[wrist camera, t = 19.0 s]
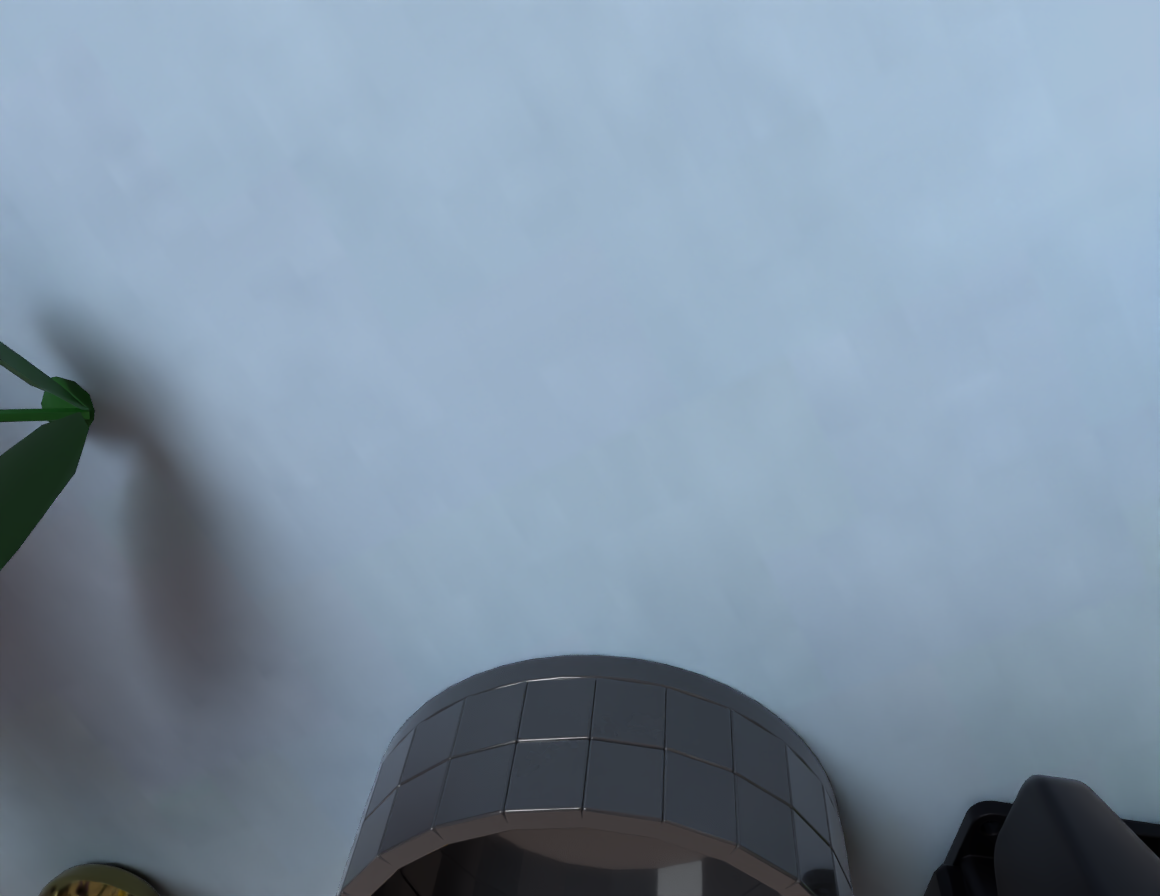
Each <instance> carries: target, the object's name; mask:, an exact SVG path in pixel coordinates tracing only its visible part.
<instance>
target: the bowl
mask: <svg viewBox="0 0 1160 896" xmlns="http://www.w3.org/2000/svg"><path fill="white" fill-rule="evenodd" d="M336 896H853V891H852V884H851V878H850V871H849V865H848V858H847V852H846V846H845V839H844V833H843V828H842V824H841V822H840V820H839V813H838V807H837V801H836V798H835V795H834V792H833V789H832V787H831V784H830V781H829V779H828V777H827V775H826V773H825V772H824V770H823V768H822V766H821V765H820V763H819V761H818V759H817V758H816V757H815V755H814V754H813V753H812V752H811V750H810V749H809V748H808V747H807V745H806V744H805V743H804V742H803V740H802V739H801V738H800V737H799V736H798V735H797V734H796V733H795V732H794V731H793V730H792V729H791V728H789V727H788V726H787V725H786V724H785V723H784V722H783V721H782V720H781V719H780V718H778V717H777V716H776V715H774V714H773V713H771V712H770V711H769V710H767V709H766V708H764V707H763V706H762V705H760V704H759V703H757V702H756V701H754V700H752V699H751V698H749V697H747V696H745V695H743V694H741V693H740V692H738V691H736V690H734V689H732V688H731V687H729V686H726V685H724V684H721V683H719V682H717V681H714V680H712V679H709V678H707V677H705V676H702V675H700V674H697V673H693V672H690V671H687V670H683V669H680V668H676V667H673V666H670V665H666V664H661V663H656V662H651V661H645V660H640V659H635V658H626V657H615V656H604V655H564V656H555V657H546V658H537V659H530V660H526V661H521V662H517V663H512V664H508V665H503V666H500V667H497V668H494V669H491V670H488V671H485V672H482V673H479V674H476V675H473V676H471V677H469V678H467V679H465V680H463V681H461V682H459V683H457V684H455V685H453V686H451V687H449V688H447V689H446V690H444V691H443V692H441V693H440V694H438V695H437V696H435V697H434V698H432V699H431V700H429V701H428V702H426V703H425V704H424V705H423V706H422V707H421V708H420V709H419V710H417V711H416V712H415V713H414V714H413V715H412V716H411V717H410V718H409V719H408V720H407V721H406V722H405V723H404V724H403V726H402V727H401V728H400V730H399V731H398V732H397V733H396V735H395V736H394V737H393V739H392V740H391V742H390V744H389V746H388V748H387V750H386V752H385V754H384V756H383V758H382V761H381V764H380V767H379V770H378V773H377V776H376V779H375V782H374V784H373V787H372V789H371V792H370V794H369V797H368V799H367V802H366V805H365V808H364V811H363V814H362V817H361V820H360V823H359V826H358V829H357V832H356V835H355V838H354V842H353V845H352V848H351V851H350V854H349V857H348V860H347V863H346V866H345V869H344V872H343V875H342V878H341V881H340V884H339V887H338V890H337V893H336Z"/></svg>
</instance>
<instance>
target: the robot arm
mask: <svg viewBox="0 0 1160 896" xmlns="http://www.w3.org/2000/svg"><path fill="white" fill-rule="evenodd" d="M924 896H1160V825H1159V824H1152V823H1145V822H1138V821H1131V820H1124V819H1120V818H1119V817H1118V816H1117V815H1116V814H1115V813H1114V812H1113V811H1112V809H1111V808H1110V807H1109V806H1108V805H1107V804H1106V803H1105V802H1104V801H1103V800H1102V799H1101V798H1100V797H1099V796H1098V795H1097V794H1096V793H1095V792H1094V791H1093V790H1092V789H1091V788H1090V787H1088V786H1087V785H1086V784H1084V783H1082V782H1080V781H1077V780H1073V779H1066V778H1059V777H1052V776H1044V775H1033V776H1031V777H1029V778H1028V779H1027V780H1026V781H1025V782H1024V784H1023V785H1022V787H1021V789H1020V791H1019V793H1018V795H1017V797H1016V799H1015V801H1014V803H1013V804H1011V803H1004V802H997V801H983V802H979V803H976V804H975V805H973V806H971V807H970V809H969V810H968V811H967V813H966V815H965V817H964V819H963V822H962V824H961V826H960V828H959V831H958V833H957V835H956V837H955V839H954V842H953V844H952V846H951V848H950V850H949V853H948V855H947V857H946V859H945V861H944V864H942V865H941V866H940V867H939V868H938V869H937V870H936V871H935V872H934V873H933V876H932V878H931V880H930V882H929V884H928V887H927V889H926V891H925V893H924Z"/></svg>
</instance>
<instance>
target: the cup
mask: <svg viewBox="0 0 1160 896" xmlns="http://www.w3.org/2000/svg"><path fill="white" fill-rule="evenodd" d="M39 896H159V894H158V893H157V892H156V890H155V889H154V888H153V887H152V886H151V885H150V884H149V883H147V882H146V881H145V880H143V879H142V878H140V877H139V876H137V875H135V874H133V873H131V872H129V871H126V870H124V869H121V868H118V867H114V866H110V865H104V864H83V865H78V866H74V867H71V868H69V869H67V870H65V871H64V872H62V873H61V874H59V875H58V876H56V877H55V878H54V879H53V880H51V881H50V882H49V883H48V884H47V885H46V886H45V887H44V888H43V889H42V891H41V892H40V894H39Z"/></svg>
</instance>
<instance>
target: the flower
mask: <svg viewBox="0 0 1160 896" xmlns="http://www.w3.org/2000/svg"><path fill="white" fill-rule="evenodd" d="M0 365H2V366H3V367H5V368H6V369H8V370H9V371H10V372H12V373H13V374H15V375H16V376H18V377H19V378H21V379H22V380H24V381H25V382H26V383H28V384H29V385H32V386H34V387H37V388H39V389H41V390H44V395H43V399H42V402H41V405H42V409H7V410H0V422H20V421H49V422H50V423H47V424H44V425H41V426H40V427H39V428H37V429H36V430H35V431H33V432H32V433H31V434H29V435H28V436H27V437H25V438H24V439H22V440H21V441H20V442H18V443H17V444H16V445H14V446H13V447H12V448H10V449H9V450H8V451H6V452H5V453H4V454H2V455H1V456H0V571H1V569H2V568H3V567H4V566H5V565H6V564H7V562H8V561H9V560H10V559H11V558H12V556H13V555H14V554H15V553H16V552H17V551H18V549H19V548H20V547H21V545H22V544H23V543H24V541H25V540H26V539H27V537H28V536H29V535H30V533H31V532H32V531H33V529H34V528H35V527H36V525H37V524H38V522H39V521H40V520H41V518H42V517H43V516H44V514H45V513H46V512H47V510H48V509H49V508H50V506H51V505H52V503H53V502H54V501H55V499H56V498H57V497H58V495H59V494H60V493H61V491H62V490H63V489H64V487H65V486H66V485H67V483H68V482H69V480H70V479H71V478H72V476H73V475H74V474H75V472H76V469H77V466H78V463H79V459H80V456H81V453H82V450H83V447H84V443H85V440H86V437H87V434H88V430H89V427H90V425H91V423H92V422H93V420H94V413H95V410H94V407H93V404H92V401H91V398H90V395H89V394H88V393H87V392H86V391H85V390H84V389H82V388H81V387H80V386H79V385H78V384H77V383H76V382H74V381H71V380H67V379H64V378H60V377H57V376H56V377H52V378H50V377H49V376H47V375H46V374H45V373H43V372H42V371H40V370H39V369H38V368H36V367H35V366H34V365H32V364H31V363H30V362H28V361H27V360H26V359H24V358H23V357H21V356H20V355H19V354H17V353H16V352H14V351H13V350H11V349H10V348H9V347H7V346H6V345H4V344H3V343H2V342H0Z"/></svg>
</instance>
